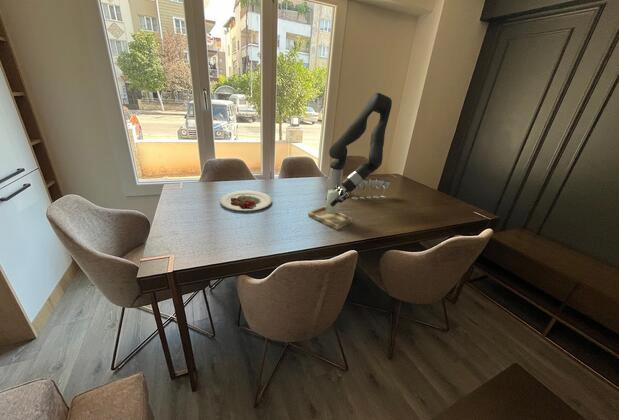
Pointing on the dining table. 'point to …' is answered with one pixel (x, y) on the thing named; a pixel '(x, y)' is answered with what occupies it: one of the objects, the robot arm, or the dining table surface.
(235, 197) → the plated food
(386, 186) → the goblet set
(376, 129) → the robot arm
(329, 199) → the sage domed cylinder
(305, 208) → the dining table surface
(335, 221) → the tray
